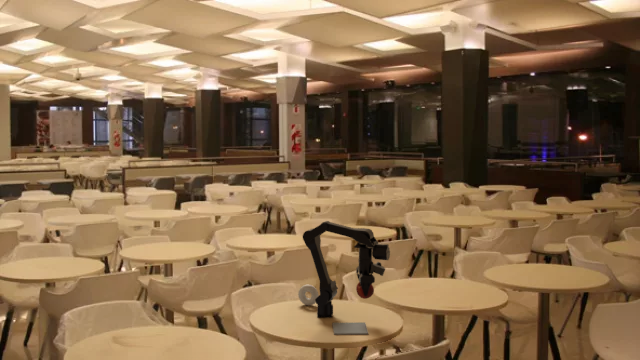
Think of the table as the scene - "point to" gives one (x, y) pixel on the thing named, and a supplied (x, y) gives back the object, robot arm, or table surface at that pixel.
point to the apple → (360, 291)
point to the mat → (350, 328)
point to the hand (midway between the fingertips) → (364, 293)
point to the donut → (303, 298)
